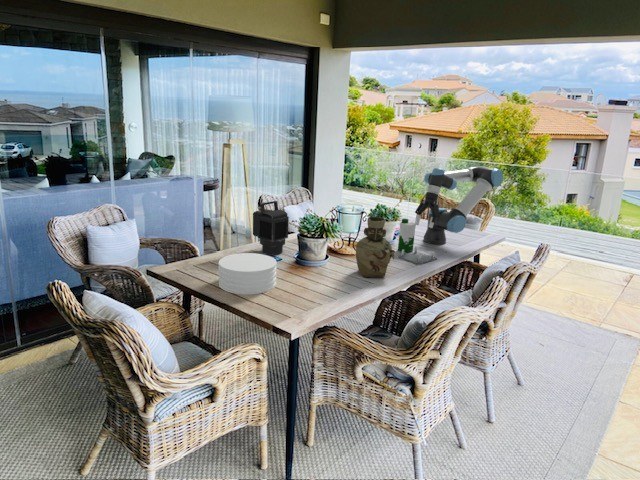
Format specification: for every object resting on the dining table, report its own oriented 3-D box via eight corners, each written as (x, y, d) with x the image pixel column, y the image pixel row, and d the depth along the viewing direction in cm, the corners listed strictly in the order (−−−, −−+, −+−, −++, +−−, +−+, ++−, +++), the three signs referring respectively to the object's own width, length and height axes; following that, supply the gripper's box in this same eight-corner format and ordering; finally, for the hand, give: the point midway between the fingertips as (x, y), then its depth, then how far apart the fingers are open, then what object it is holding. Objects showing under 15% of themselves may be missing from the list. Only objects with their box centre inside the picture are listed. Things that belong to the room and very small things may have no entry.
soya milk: (402, 247, 310) (405, 217, 304) (414, 250, 305) (418, 220, 299) (395, 250, 303) (398, 219, 298) (408, 253, 298) (411, 222, 292)
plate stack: (249, 270, 256) (249, 249, 252) (287, 284, 239) (288, 262, 236) (206, 283, 235) (206, 261, 231) (245, 299, 218) (245, 276, 215)
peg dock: (416, 252, 300) (416, 245, 299) (437, 259, 289) (438, 251, 287) (397, 257, 289) (398, 249, 287) (418, 264, 277) (419, 256, 276)
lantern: (273, 257, 278) (274, 206, 270) (251, 250, 288) (251, 201, 280) (290, 251, 290) (291, 203, 281) (268, 245, 300) (269, 198, 292)
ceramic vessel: (384, 282, 247) (389, 226, 239) (348, 274, 257) (351, 219, 248) (397, 272, 263) (403, 219, 255) (363, 264, 273) (366, 213, 264)
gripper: (415, 190, 306) (406, 222, 306) (441, 192, 284) (431, 227, 284) (424, 193, 309) (415, 225, 310) (450, 196, 287) (441, 230, 288)
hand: (423, 226), depth 297 cm, fingers open, 13 cm apart
